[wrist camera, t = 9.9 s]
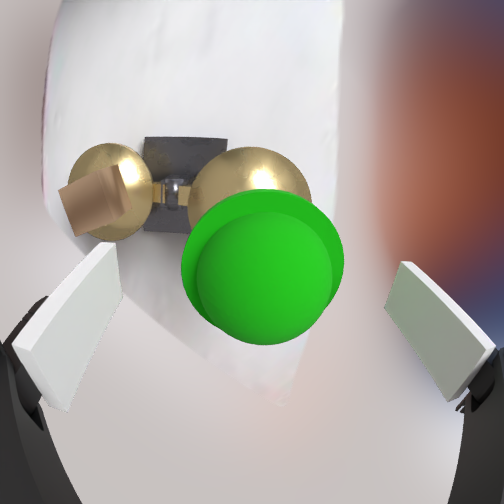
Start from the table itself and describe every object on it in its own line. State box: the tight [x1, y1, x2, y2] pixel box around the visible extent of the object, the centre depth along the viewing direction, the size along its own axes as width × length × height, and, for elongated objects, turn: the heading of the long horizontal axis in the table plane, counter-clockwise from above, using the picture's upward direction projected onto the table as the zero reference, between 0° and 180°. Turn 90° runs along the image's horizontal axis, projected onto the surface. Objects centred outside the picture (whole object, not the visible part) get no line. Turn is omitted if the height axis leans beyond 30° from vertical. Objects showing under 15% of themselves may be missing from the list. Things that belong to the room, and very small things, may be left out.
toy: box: [181, 189, 344, 345], centre depth 17 cm, size 8×8×15 cm
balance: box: [68, 137, 312, 241], centre depth 28 cm, size 12×26×11 cm, turn 84°
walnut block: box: [58, 164, 132, 237], centre depth 23 cm, size 5×5×5 cm
